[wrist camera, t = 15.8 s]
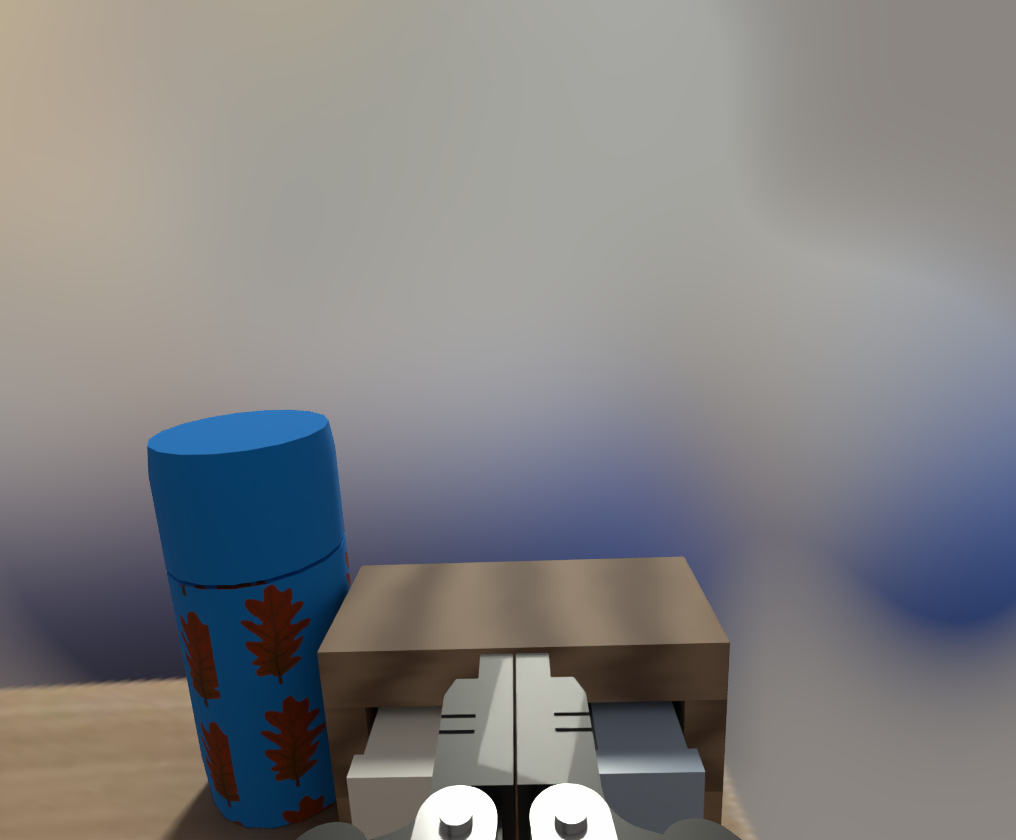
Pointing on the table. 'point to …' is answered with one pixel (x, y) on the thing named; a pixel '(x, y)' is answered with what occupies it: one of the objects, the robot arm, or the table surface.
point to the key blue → (646, 764)
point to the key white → (394, 769)
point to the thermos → (255, 600)
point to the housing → (527, 645)
